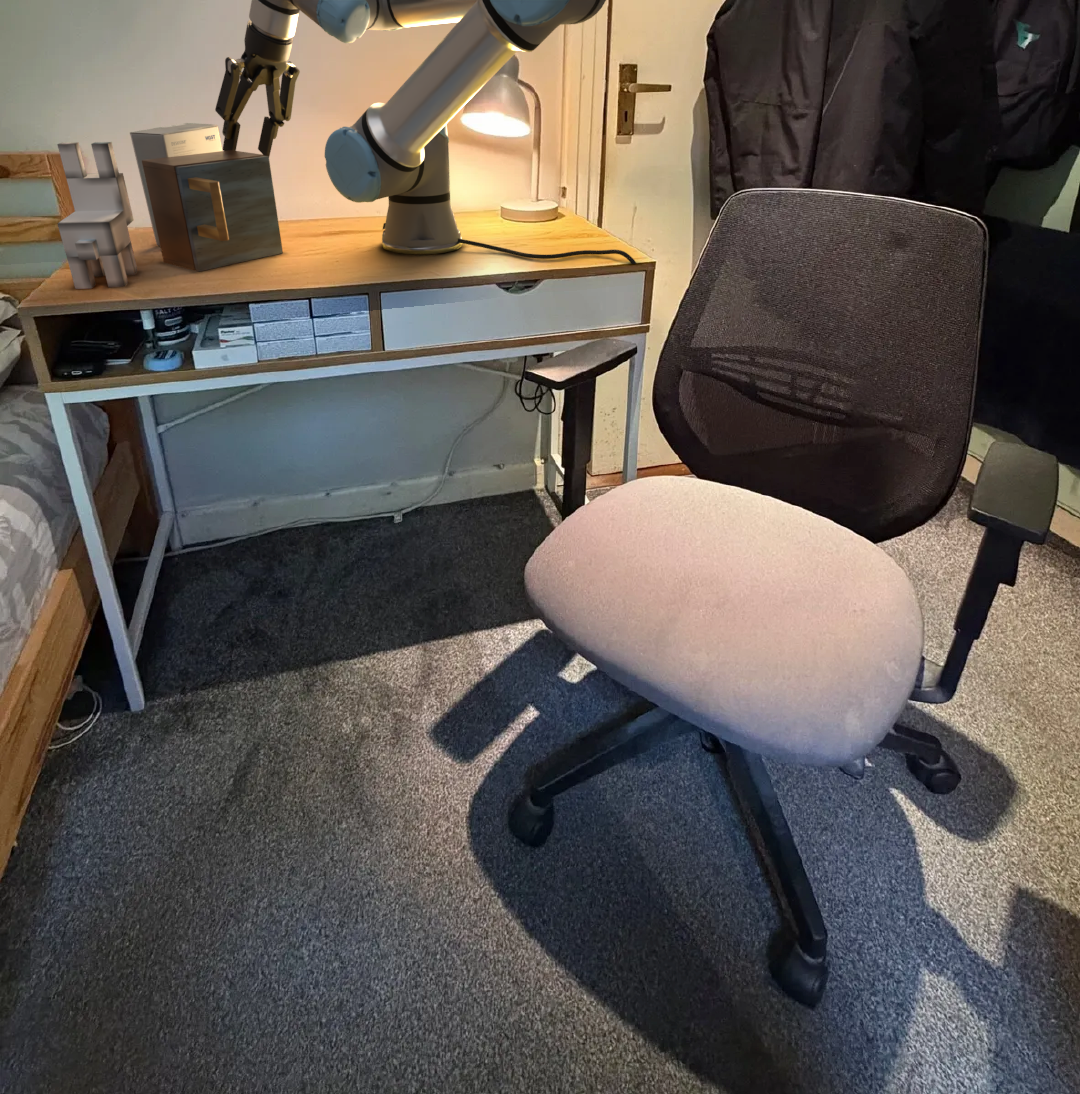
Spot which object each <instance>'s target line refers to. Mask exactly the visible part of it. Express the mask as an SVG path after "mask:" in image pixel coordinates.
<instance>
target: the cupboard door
mask: <svg viewBox="0 0 1080 1094" xmlns="http://www.w3.org/2000/svg"><path fill="white" fill-rule="evenodd" d="M175 169H176V174H177V179H178V184H179V189H180V194H181V199H182V204H183V209H184V214H185V219H186V224H187V229H188V234H189V239H190V244H191V249H192V254H193V259H194V264H195V269H196V272H202V271H208V270H213V269H217V268H222V267H226V266H230V265H236V264H239V263H244V262H248V261H249V262H250V261H254V260H257V259H258V260H259V259H263V258H267V257H271V256H276V255H281V254H284V251H283V244H282V237H281V230H280V224H279V217H278V211H277V202H276V197H275V195H276V194H275V189H274V182H273V175H272V168H271V162H270V156H260V157H252V158H244V159H236V160H228V161H219V162H211V163H203V164H195V165H187V166H178V167H175Z"/></svg>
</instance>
